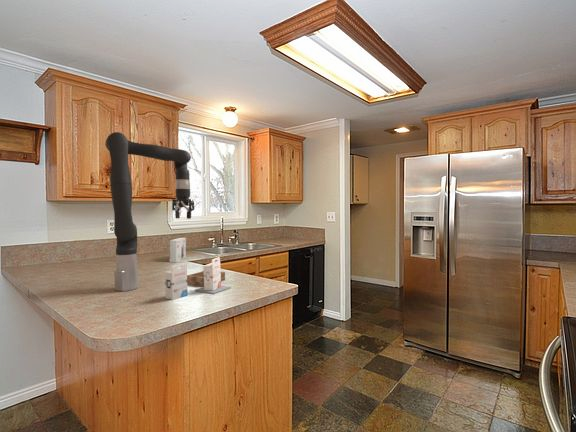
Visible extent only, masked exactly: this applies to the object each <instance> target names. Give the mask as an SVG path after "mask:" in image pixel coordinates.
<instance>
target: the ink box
mask: <svg viewBox="0 0 576 432" xmlns="http://www.w3.org/2000/svg"><path fill="white" fill-rule="evenodd" d="M179 267H180V268H179ZM187 268H188V267H187V263H186V262H185V263H179V264H175V265H172V266H171V270H169V271H164V293H165V295H164V297H165V299H167V300H171V301H174V300H177V299H180V298H183V297H186V296H188V295H189V294H188V293H189V292H188V284H187V275H188V269H187Z"/></svg>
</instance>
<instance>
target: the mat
mask: <svg viewBox="0 0 576 432" xmlns="http://www.w3.org/2000/svg"><path fill="white" fill-rule="evenodd" d="M230 289H232V287H231V286H227V285H226V286H225V285H221V286H220V287H219V288H217V289H215V290H213V291H212V290H204V287H202V286H201V287H199V288H196V289H194V291H195V292H199V293H205V294H212V295H216V294H219V293H221V292H225V291H227V290H230Z"/></svg>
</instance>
